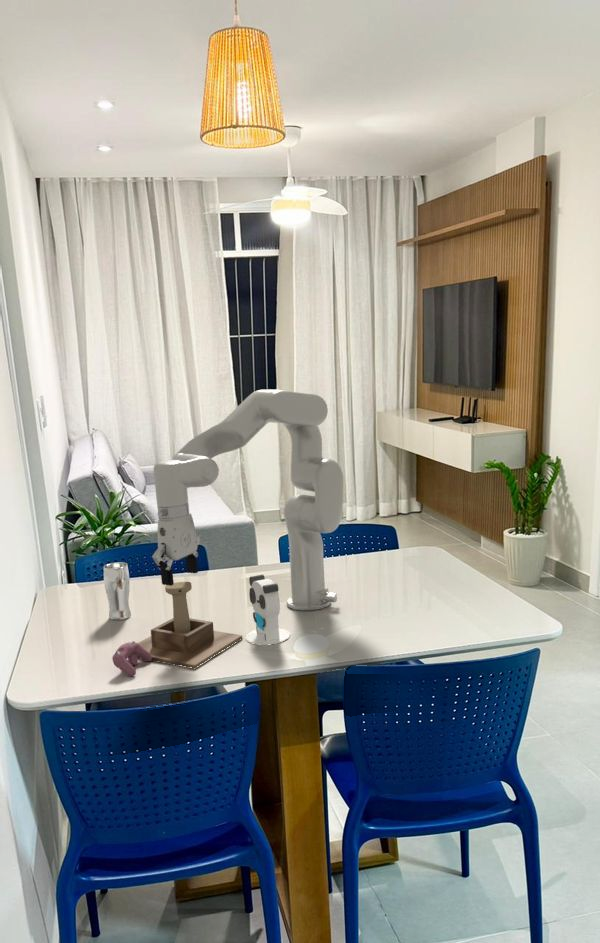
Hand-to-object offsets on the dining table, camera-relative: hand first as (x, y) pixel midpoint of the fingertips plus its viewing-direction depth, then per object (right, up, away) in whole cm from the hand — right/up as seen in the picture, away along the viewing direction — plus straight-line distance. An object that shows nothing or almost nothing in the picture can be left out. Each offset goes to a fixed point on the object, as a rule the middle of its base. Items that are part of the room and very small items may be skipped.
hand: (180, 578), depth 188 cm
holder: (0, -17, +2) cm, 18 cm away
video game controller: (-10, -20, -9) cm, 24 cm away
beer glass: (-21, -15, +27) cm, 37 cm away
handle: (0, -17, +2) cm, 17 cm away
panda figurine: (+21, -16, +7) cm, 27 cm away
